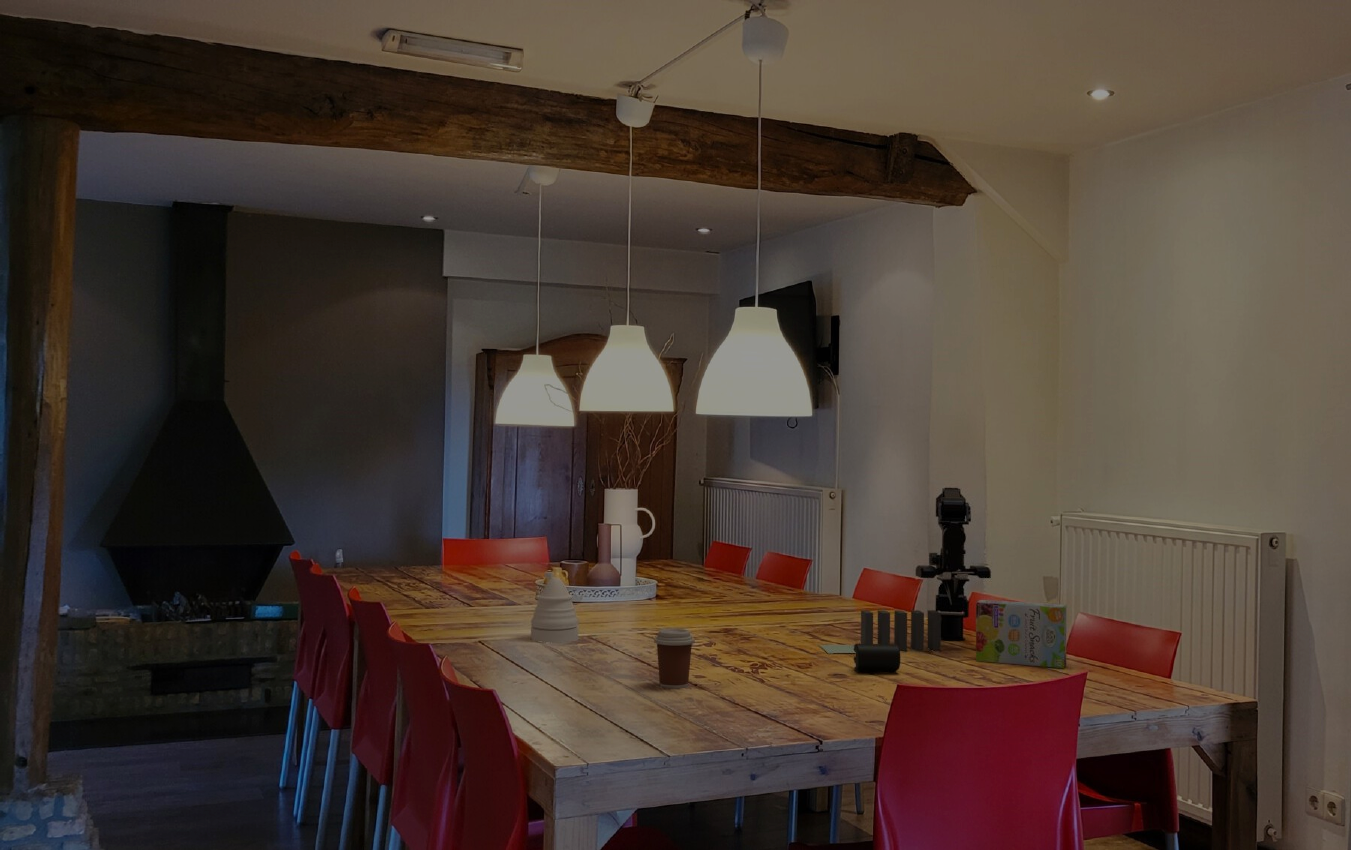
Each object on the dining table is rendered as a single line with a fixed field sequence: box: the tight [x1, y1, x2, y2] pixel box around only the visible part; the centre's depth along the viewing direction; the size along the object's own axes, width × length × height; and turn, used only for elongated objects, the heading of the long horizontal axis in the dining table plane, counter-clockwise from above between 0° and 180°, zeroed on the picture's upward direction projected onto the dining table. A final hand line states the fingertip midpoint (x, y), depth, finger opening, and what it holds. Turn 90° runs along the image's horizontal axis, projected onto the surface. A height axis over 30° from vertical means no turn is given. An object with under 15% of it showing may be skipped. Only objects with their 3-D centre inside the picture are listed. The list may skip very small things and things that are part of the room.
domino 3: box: [910, 609, 925, 652], centre depth 298 cm, size 2×5×10 cm, turn 4°
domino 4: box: [926, 609, 942, 652], centre depth 298 cm, size 2×5×10 cm, turn 5°
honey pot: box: [530, 571, 579, 644], centre depth 308 cm, size 13×13×18 cm
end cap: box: [853, 642, 901, 674], centre depth 267 cm, size 10×7×7 cm
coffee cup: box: [653, 627, 696, 689], centre depth 250 cm, size 9×9×12 cm
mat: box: [818, 644, 856, 655], centre depth 296 cm, size 9×12×1 cm
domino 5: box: [860, 609, 874, 644], centre depth 297 cm, size 2×5×10 cm, turn 5°
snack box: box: [975, 599, 1067, 669], centre depth 280 cm, size 21×6×15 cm, turn 65°
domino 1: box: [877, 609, 891, 644], centre depth 297 cm, size 2×5×10 cm, turn 4°
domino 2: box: [893, 609, 908, 652], centre depth 297 cm, size 2×5×10 cm, turn 4°
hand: (952, 604), depth 299 cm, fingers closed
